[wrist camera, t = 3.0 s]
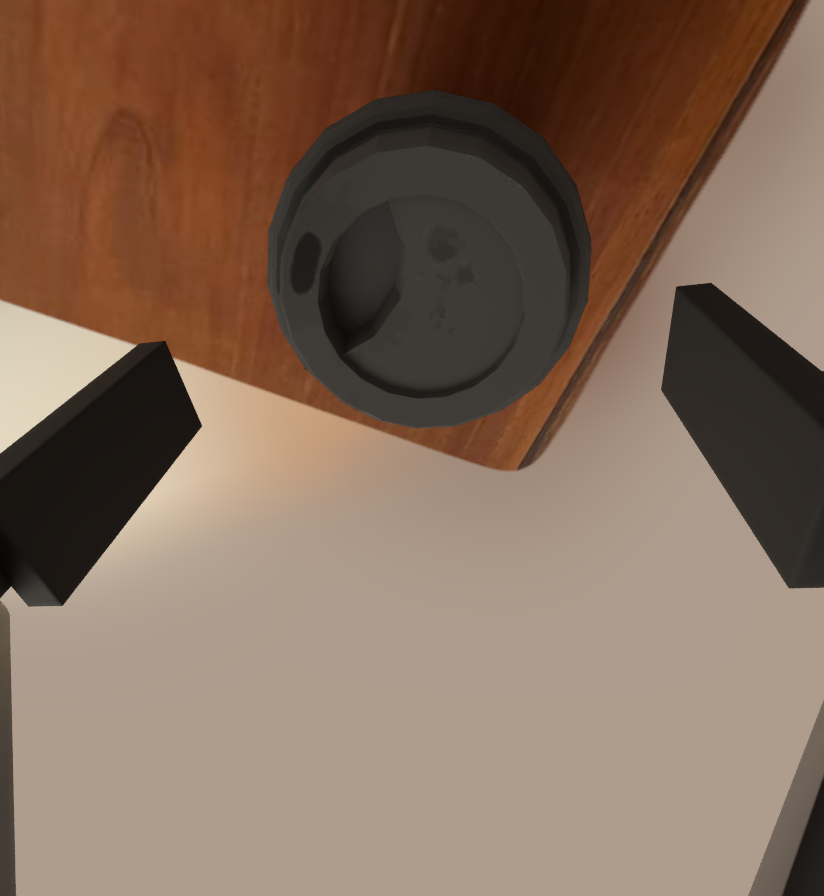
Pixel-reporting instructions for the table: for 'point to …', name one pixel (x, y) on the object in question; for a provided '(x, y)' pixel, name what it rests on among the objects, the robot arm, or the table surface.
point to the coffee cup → (429, 259)
